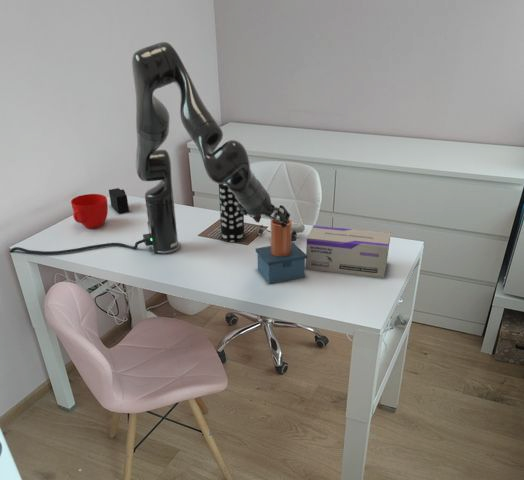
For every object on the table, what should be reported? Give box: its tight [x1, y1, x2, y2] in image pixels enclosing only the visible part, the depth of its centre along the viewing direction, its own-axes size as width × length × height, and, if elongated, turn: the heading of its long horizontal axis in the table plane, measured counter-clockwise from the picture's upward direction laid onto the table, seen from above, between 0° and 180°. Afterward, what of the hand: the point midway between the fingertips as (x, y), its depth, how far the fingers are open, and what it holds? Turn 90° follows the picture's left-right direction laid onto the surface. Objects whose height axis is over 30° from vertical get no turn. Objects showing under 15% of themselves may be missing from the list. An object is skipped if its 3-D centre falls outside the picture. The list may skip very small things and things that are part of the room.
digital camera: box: [108, 187, 130, 215], centre depth 219 cm, size 10×5×7 cm, turn 30°
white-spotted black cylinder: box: [218, 182, 245, 243], centre depth 191 cm, size 8×8×20 cm
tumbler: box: [270, 218, 293, 256], centre depth 165 cm, size 6×6×10 cm
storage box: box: [254, 242, 307, 284], centre depth 171 cm, size 13×11×8 cm
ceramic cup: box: [70, 193, 109, 229], centre depth 203 cm, size 13×17×10 cm
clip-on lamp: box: [255, 222, 306, 243], centre depth 194 cm, size 12×6×18 cm
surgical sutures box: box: [305, 225, 391, 279], centre depth 173 cm, size 25×11×11 cm, turn 74°
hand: (272, 222), depth 157 cm, fingers open, 8 cm apart
